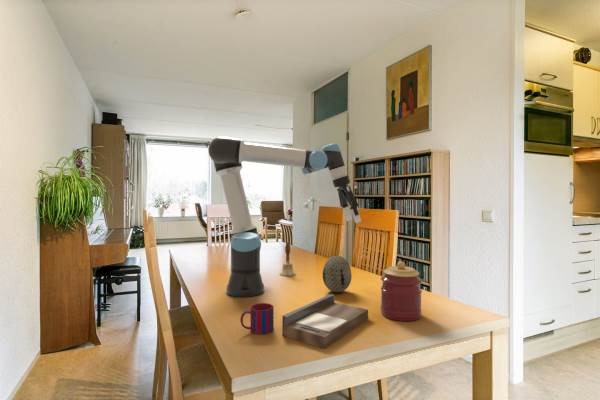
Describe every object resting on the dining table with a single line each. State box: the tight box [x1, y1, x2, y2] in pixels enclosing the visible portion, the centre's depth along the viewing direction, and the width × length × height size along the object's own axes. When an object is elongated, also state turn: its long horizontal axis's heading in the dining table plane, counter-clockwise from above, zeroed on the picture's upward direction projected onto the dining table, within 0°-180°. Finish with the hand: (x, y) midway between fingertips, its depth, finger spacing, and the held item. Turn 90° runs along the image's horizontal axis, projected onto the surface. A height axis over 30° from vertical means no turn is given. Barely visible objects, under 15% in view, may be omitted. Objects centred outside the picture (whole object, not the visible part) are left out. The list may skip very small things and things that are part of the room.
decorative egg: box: [322, 254, 352, 293], centre depth 137 cm, size 12×12×15 cm
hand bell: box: [279, 241, 297, 277], centre depth 168 cm, size 8×8×16 cm
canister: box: [380, 260, 423, 322], centre depth 111 cm, size 13×13×18 cm
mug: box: [240, 302, 275, 335], centre depth 98 cm, size 7×10×7 cm
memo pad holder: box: [281, 293, 369, 349], centre depth 101 cm, size 14×26×6 cm, turn 144°
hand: (353, 221), depth 155 cm, fingers open, 13 cm apart
